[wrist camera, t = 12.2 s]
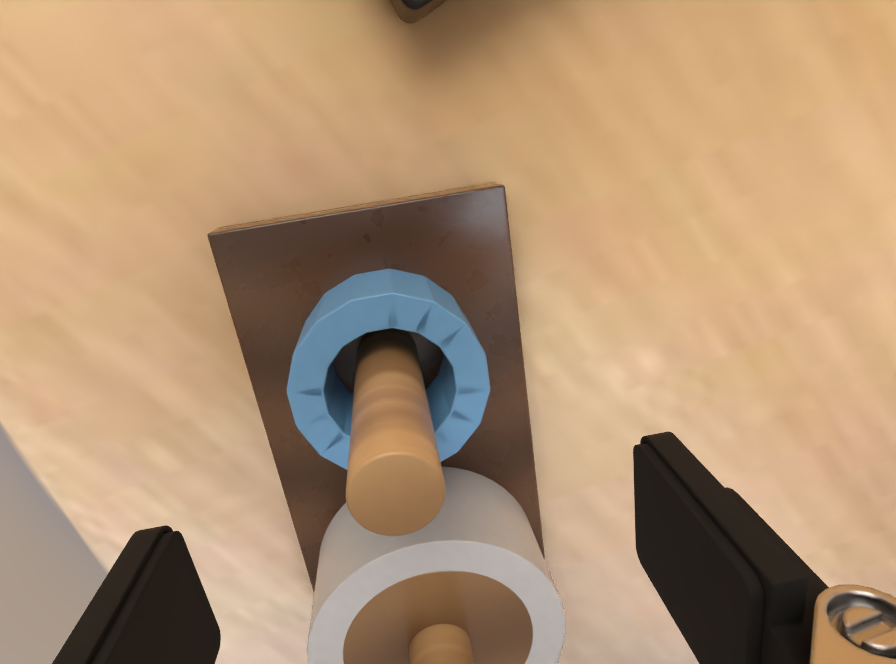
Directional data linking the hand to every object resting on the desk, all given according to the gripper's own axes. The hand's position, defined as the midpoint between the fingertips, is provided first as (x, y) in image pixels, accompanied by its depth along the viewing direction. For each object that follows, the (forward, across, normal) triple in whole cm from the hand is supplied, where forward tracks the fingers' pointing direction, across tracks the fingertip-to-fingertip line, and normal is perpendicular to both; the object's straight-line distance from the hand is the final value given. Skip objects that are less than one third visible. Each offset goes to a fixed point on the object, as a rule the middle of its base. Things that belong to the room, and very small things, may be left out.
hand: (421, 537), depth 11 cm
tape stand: (+13, +1, +6) cm, 14 cm away
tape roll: (+12, +1, 0) cm, 12 cm away
